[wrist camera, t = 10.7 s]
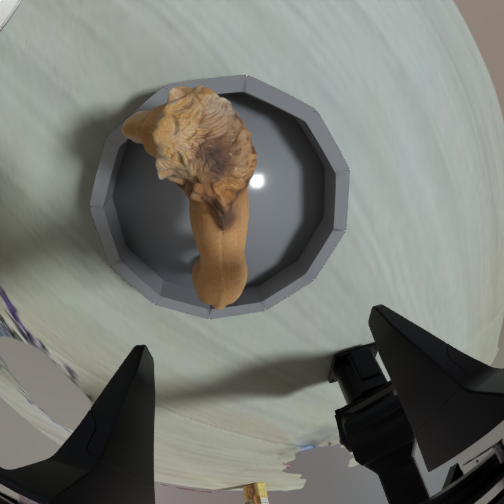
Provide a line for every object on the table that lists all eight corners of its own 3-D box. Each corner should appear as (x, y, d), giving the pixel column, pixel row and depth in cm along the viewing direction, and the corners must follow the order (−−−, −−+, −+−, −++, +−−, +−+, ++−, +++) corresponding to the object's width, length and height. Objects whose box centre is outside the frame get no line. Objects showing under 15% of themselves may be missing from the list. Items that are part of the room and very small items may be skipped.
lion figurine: (148, 103, 14) (93, 108, 7) (231, 83, 15) (255, 63, 7) (203, 288, 22) (206, 382, 15) (266, 274, 22) (296, 363, 15)
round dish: (327, 278, 24) (337, 296, 22) (141, 306, 23) (137, 327, 21) (331, 78, 15) (348, 76, 13) (85, 111, 14) (68, 114, 12)
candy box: (250, 486, 78) (256, 517, 65) (241, 486, 76) (247, 518, 63) (264, 482, 75) (271, 514, 62) (256, 482, 73) (263, 515, 60)
